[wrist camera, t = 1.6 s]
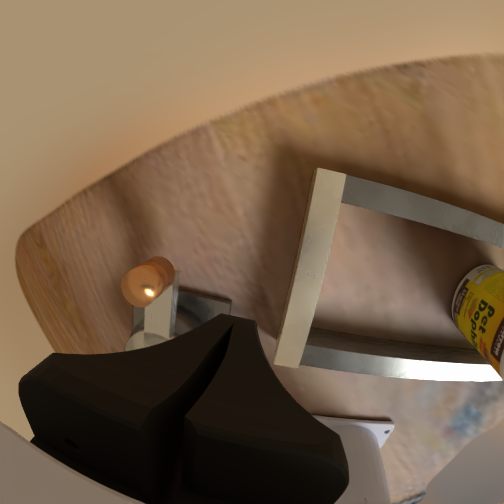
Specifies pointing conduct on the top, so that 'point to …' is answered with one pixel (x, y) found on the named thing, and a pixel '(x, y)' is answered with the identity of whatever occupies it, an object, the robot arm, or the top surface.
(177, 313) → the winch post
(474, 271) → the supplement bottle
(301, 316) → the bay
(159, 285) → the crank
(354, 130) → the top surface
